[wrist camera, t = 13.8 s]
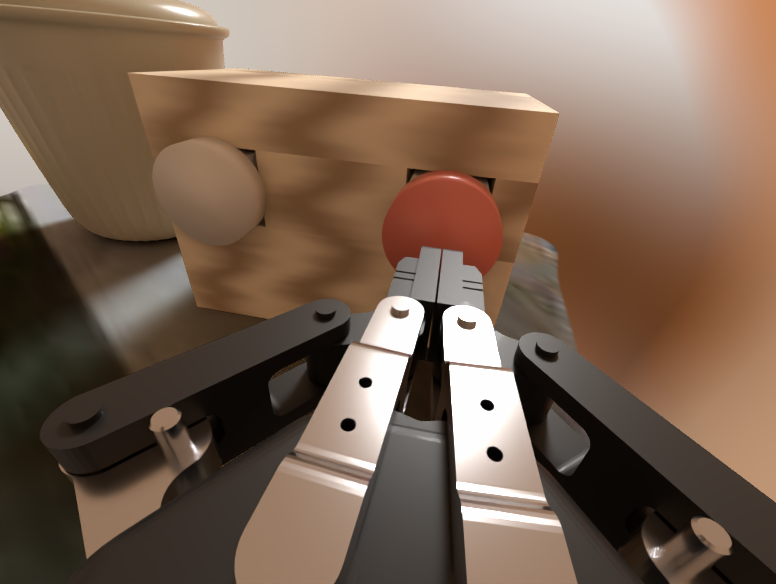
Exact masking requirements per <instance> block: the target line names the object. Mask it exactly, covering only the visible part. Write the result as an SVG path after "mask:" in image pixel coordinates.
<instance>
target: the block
mask: <svg viewBox="0 0 776 584" xmlns="http://www.w3.org/2000/svg"><path fill="white" fill-rule="evenodd" d="M128 76H129V79H130V83H131V86H132V89H133V93H134V96H135V100H136V103H137V106H138V110H139V113H140V116H141V120H142V123H143V126H144V130H145V133H146V136H147V140H148V143H149V147H150V150H151V153H152V157H153V160H154V162H155V160H156V158H157V156H158V155H159V153H160V152H161V151H162V150H163V149H164V148H166V147H168V146H170V145H172V144H176V143H179V142H183V141H186V140H190V139H193V138H197V137H203V136H205V137H214V138H218V139H221V140H224V141H226V142H228V143H230V144H231V145H233V146H235V147H236V148H241V149H250V150H255V153H256V160H257V167H258V173H259V175H260V177H261V179H262V182H263V185H264V188H265V193H266V209H265V213H264V217H265V218H264V219H263V220H262V221H260V223H259V224H258V225H257V226H256V227H255V228H253V229H252V230H251V231H250V232H248V233H247V234H246V235H245V236H243V237H242V238H241V239H239V240H238V241H236V242H235V243H232V244H229V245H223V246H217V245H210V244H206V243H203V242H200V241H198V240H196V239H194V238H192V237H190V236H189V235H187V234H186V233H184V232H183V231H182V230H181V229H179V228H178V227H177V226H176V225H175V224H174V223H173V222H172V224H173V227H174V231H175V234H176V237H177V241H178V244H179V247H180V251H181V254H182V257H183V261H184V264H185V268H186V271H187V274H188V278H189V281H190V284H191V288H192V291H193V294H194V298H195V301H196V304H197V307H202V308H208V309H214V310H219V311H225V312H231V313H236V314H242V315H248V316H253V317H259V318H265V319H270V318H273V317H275V316H278V315H280V314H283V313H285V312H288V311H290V310H293V309H295V308H298V307H300V306H303V305H305V304H308V303H310V302H313V301H316V300H320V299H335V300H339V301H341V302H343V303H345V304H346V305H347V306H348V307H349V308H350V313H351V314H354V313H367V312H371V311H374V310H376V308H377V306H378V304H379V303H380V302H381V301H382V300H383V299H385V298H387V295H388V292H389V289H390V286H391V283H392V280H393V278H394V274H395V272H396V271H395V269H394V268H393V267H392V266H391V264H390V262H389V261H388V259H387V257H386V255H385V252H384V248H383V244H382V227H383V223H384V219H385V217H386V214H387V212H388V210H389V208H390V206H391V204H392V203H393V201H394V199H395V197H396V196H397V194H398V193H399V191H400V190H401V189H402V188H403V187H404V186H405V185H406V184H407V183H408V182H410V180H411V178H412V176H413V173H414V171H415V169H420V170H428V171H437V170H453V171H458V172H462V173H465V174H467V175H471V176H480V177H487V180H488V186H489V191H490V193H491V194H492V196H493V197H494V199H495V201H496V204H497V206H498V210H499V214H500V219H501V224H502V230H503V242H502V247H501V251H500V254H499V257H498V259H497V260H496V262H495V264H494V265H493V267H492V268H491V269H490V270H489V272H488V273H487V274H486V275H484V276H483V277H482V284H483V296H484V308H485V314H486V315H487V316H488V317H489V319H490V320H491V323H492V328H493V329H494V327H495V324H496V320H497V317H498V314H499V310H500V307H501V304H502V301H503V297H504V294H505V291H506V287H507V284H508V281H509V278H510V274H511V271H512V268H513V264H514V261H515V258H516V255H517V251H518V248H519V245H520V241H521V238H522V235H523V232H524V228H525V225H526V221H527V219H528V215H529V212H530V208H531V205H532V202H533V199H534V196H535V192H536V189H537V186H538V182H539V179H540V176H541V173H542V169H543V166H544V163H545V159H546V156H547V153H548V149H549V146H550V143H551V140H552V136H553V133H554V130H555V127H556V123H557V120H558V117H559V113H558V112H556V111H555V110H553V109H551V108H549V107H548V106H546V105H544V104H543V103H541V102H539V101H538V100H536V99H534V98H533V97H530V96H529V95H527V94H520V93H509V92H499V91H487V90H476V89H464V88H454V87H441V86H431V85H420V84H408V83H397V82H385V81H375V80H363V79H351V78H340V77H330V76H318V75H307V74H295V73H284V72H273V71H262V70H250V69H211V70H185V71H159V72H133V73H128ZM431 325H432V322H431ZM430 333H431V328H430ZM429 341H430V334H429V339H428V345H427V347H428V348H429Z"/></svg>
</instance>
